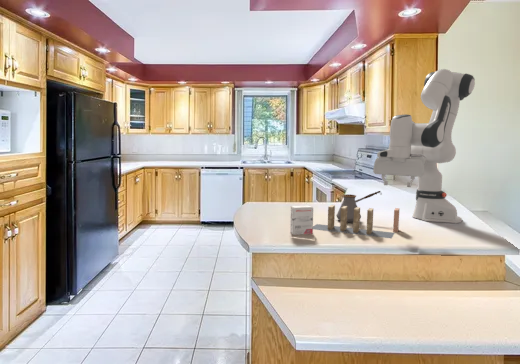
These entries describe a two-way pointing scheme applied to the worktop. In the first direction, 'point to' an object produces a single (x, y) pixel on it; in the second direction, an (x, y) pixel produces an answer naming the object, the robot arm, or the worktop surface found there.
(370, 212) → the domino
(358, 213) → the domino
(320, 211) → the worktop surface
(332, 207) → the domino
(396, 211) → the domino
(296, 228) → the ink box
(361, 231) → the runner mat
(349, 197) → the coffee pot
